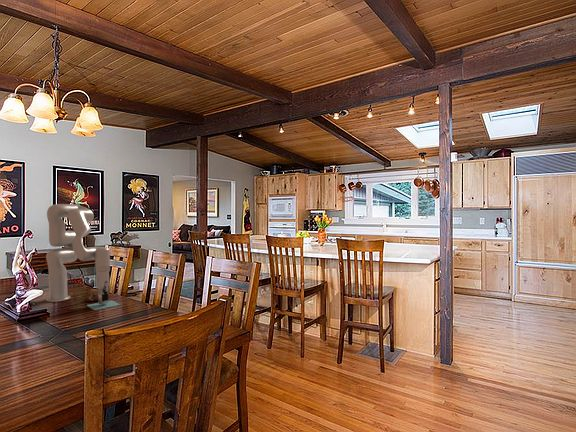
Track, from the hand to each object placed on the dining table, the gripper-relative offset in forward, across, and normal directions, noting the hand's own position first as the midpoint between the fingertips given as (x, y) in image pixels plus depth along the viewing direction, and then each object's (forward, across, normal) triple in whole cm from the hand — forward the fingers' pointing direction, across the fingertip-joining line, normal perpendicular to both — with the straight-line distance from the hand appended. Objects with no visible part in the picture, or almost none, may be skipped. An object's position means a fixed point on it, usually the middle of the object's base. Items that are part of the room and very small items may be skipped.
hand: (103, 299), depth 203 cm
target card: (+3, 0, 0) cm, 3 cm away
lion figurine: (+4, -16, +2) cm, 17 cm away
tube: (+2, 0, 0) cm, 2 cm away
